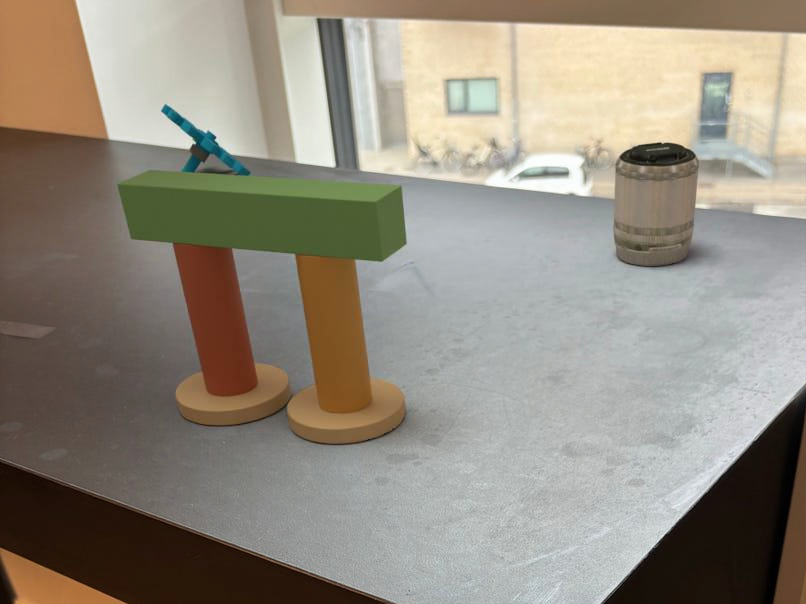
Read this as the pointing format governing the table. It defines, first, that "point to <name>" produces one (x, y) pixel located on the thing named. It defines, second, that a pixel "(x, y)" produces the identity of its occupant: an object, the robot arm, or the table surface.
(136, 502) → the table surface
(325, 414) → the ochre rod
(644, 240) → the camera lens
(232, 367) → the terracotta rod
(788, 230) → the table surface
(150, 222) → the green bar
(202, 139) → the teal blocky crossed piece
